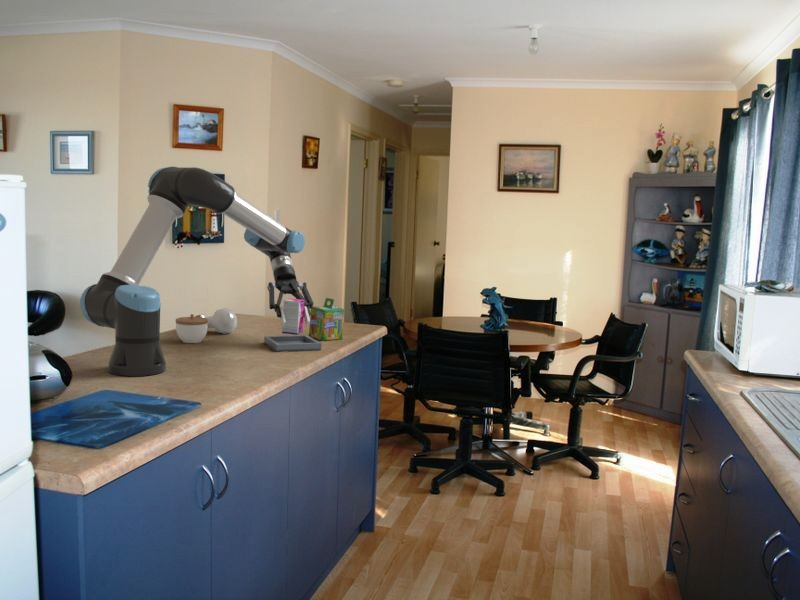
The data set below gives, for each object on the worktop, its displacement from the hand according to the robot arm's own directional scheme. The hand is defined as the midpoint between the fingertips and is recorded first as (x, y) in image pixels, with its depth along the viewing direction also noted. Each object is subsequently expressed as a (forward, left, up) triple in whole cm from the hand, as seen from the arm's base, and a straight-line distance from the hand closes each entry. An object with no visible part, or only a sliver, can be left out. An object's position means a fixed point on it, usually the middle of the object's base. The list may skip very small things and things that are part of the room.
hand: (296, 324), depth 246 cm
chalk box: (+17, +16, -9) cm, 25 cm away
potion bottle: (-19, +33, -9) cm, 40 cm away
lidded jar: (-31, +18, -9) cm, 37 cm away
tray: (0, +3, -8) cm, 9 cm away
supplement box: (0, +3, -4) cm, 5 cm away
